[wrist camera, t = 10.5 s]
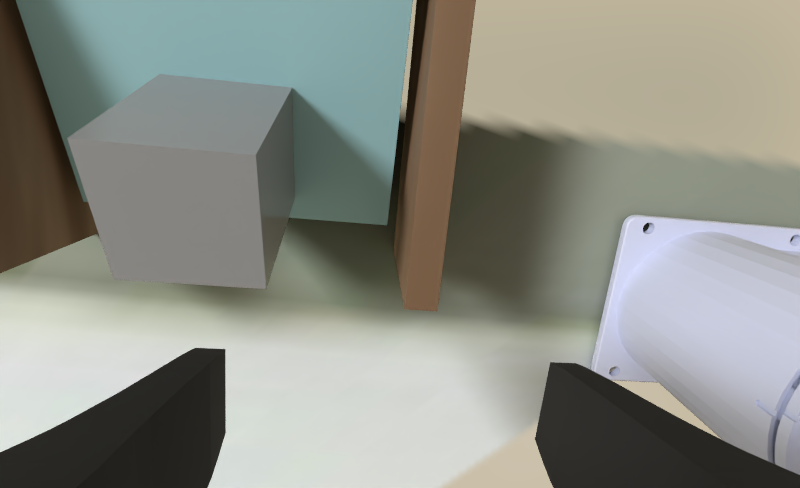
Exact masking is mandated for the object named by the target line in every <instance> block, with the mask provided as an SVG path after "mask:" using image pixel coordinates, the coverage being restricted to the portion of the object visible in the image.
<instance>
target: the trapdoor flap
mask: <svg viewBox="0 0 800 488" xmlns="http://www.w3.org/2000/svg"><path fill="white" fill-rule="evenodd" d="M412 2H413V0H16V3H17V6H18V9H19V12H20V15H21V18H22V21H23V24H24V27H25V30H26V32H27V35H28V38H29V41H30V44H31V47H32V50H33V53H34V56H35V59H36V62H37V65H38V68H39V71H40V74H41V77H42V80H43V83H44V86H45V89H46V92H47V95H48V98H49V101H50V104H51V107H52V110H53V113H54V116H55V119H56V122H57V125H58V127H59V130H60V133H61V136H62V139H63V142H64V145H65V148H66V151H67V154H68V157H69V160H70V163H71V166H72V169H73V172H74V175H75V178H76V181H77V184H78V187H79V190H80V193H81V196H82V199H83V202H88V200H87V197H86V194H85V191H84V188H83V185H82V182H81V179H80V176H79V173H78V170H77V167H76V164H75V161H74V157H73V154H72V151H71V148H70V145H69V142H68V139H67V138H68V137H69V136H71V135H72V134H74V133H75V132H77V131H78V130H80V129H81V128H82V127H84V126H85V125H87V124H88V123H90V122H91V121H92V120H94V119H95V118H97V117H98V116H100V115H101V114H103V113H104V112H105V111H107V110H108V109H110V108H111V107H113V106H114V105H116V104H117V103H118V102H120V101H121V100H123V99H124V98H126V97H127V96H128V95H130V94H131V93H133V92H134V91H136V90H137V89H139V88H140V87H141V86H143V85H144V84H146V83H147V82H149V81H150V80H152V79H153V78H154V77H156V76H157V75H159V74H166V75H176V76H185V77H195V78H205V79H215V80H224V81H234V82H244V83H253V84H263V85H273V86H283V87H292V95H293V135H294V176H295V200H294V203H293V206H292V209H291V213H290V216H289V218H300V219H313V220H325V221H338V222H351V223H364V224H377V225H387V222H388V213H389V205H390V196H391V187H392V178H393V169H394V161H395V152H396V143H397V134H398V125H399V117H400V108H401V99H402V90H403V81H404V72H405V63H406V55H407V46H408V36H409V28H410V20H411V10H412Z"/></svg>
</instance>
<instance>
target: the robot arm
mask: <svg viewBox="0 0 800 488" xmlns="http://www.w3.org/2000/svg"><path fill="white" fill-rule="evenodd" d="M646 223H649V228H648V230H647V231H645V232H643V227H644V225H645V224H646ZM792 237H793V240H792V241H791V242H790V239H791V238H792ZM615 366H616V368H615V369H614V370H613V371H612V372H609V371H610V369H611V368H612V367H615ZM611 380H620V381H639V382H659V383H660V384H661V385H662V386H663V387H664V388H665V389H666V390H668V391H669V392H670V393H671V394H672V395H673V396H674V397H675V398H676V399H678V400H679V401H680V402H681V403H682V404H683V405H684V406H686V407H687V408H688V409H689V410H690V411H691V412H692V413H693V414H694V415H695V416H696V417H698V418H699V419H700V420H701V421H702V422H703V423H704V424H705V425H707V426H708V427H709V428H710V429H711V430H712V431H713V432H714V433H716V434H717V435H718V436H719V437H720V438H721V439H722V440H721V439H719V438H717V437H715V436H713V435H711V434H709V433H707V432H705V431H703V430H701V429H699V428H697V427H695V426H693V425H691V424H689V423H688V422H686V421H684V420H682V419H680V418H678V417H676V416H674V415H672V414H671V413H669V412H667V411H665V410H663V409H661V408H659V407H657V406H656V405H654V404H652V403H651V402H649V401H647V400H645V399H643V398H641V397H640V396H638V395H636V394H634V393H633V392H631V391H629V390H627V389H625V388H624V387H622V386H620V385H618V384H616V383H615V382H613V381H611ZM224 436H225V349H207V348H194V349H192V350H190V351H188V352H186V353H185V354H183V355H181V356H179V357H178V358H176V359H174V360H173V361H171V362H169V363H168V364H166V365H164V366H163V367H161V368H159V369H158V370H156V371H154V372H153V373H151V374H149V375H148V376H146V377H144V378H143V379H141V380H139V381H138V382H136V383H134V384H133V385H131V386H129V387H128V388H126V389H124V390H122V391H121V392H119V393H117V394H116V395H114V396H112V397H110V398H108V399H106V400H105V401H103V402H101V403H99V404H97V405H95V406H93V407H92V408H90V409H88V410H86V411H84V412H82V413H81V414H79V415H77V416H75V417H73V418H71V419H70V420H68V421H66V422H64V423H62V424H60V425H58V426H56V427H54V428H52V429H50V430H48V431H46V432H44V433H42V434H40V435H38V436H35V437H33V438H31V439H29V440H27V441H25V442H22V443H20V444H18V445H16V446H14V447H11V448H9V449H7V450H5V451H3V452H0V488H207V487H208V485H209V482H210V480H211V478H212V475H213V471H214V468H215V465H216V462H217V459H218V456H219V453H220V449H221V446H222V443H223V439H224ZM535 440H536V443H537V446H538V449H539V452H540V454H541V458H542V460H543V463H544V466H545V468H546V471H547V474H548V476H549V479H550V481H551V483H552V485H553V487H554V488H800V228H789V227H777V226H765V225H753V224H741V223H729V222H717V221H705V220H693V219H681V218H669V217H657V216H645V215H631V216H629V217H627V218H626V220H625V221H624V223H623V226H622V230H621V235H620V239H619V244H618V248H617V252H616V257H615V261H614V266H613V270H612V275H611V279H610V284H609V288H608V293H607V297H606V302H605V306H604V311H603V315H602V320H601V324H600V329H599V333H598V338H597V342H596V347H595V351H594V356H593V360H592V365H591V370H590V369H588V368H586V367H583V366H581V365H578V364H576V363H552V362H550V367H549V372H548V377H547V382H546V387H545V392H544V397H543V402H542V407H541V412H540V417H539V422H538V427H537V432H536V437H535Z"/></svg>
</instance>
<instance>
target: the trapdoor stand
mask: <svg viewBox="0 0 800 488" xmlns="http://www.w3.org/2000/svg"><path fill="white" fill-rule="evenodd" d="M475 2H476V0H417V3H416V15H415V25H414V36H413V47H412V57H411V68H410V78H409V90H408V100H407V110H406V121H405V132H404V142H403V153H402V164H401V174H400V185H399V196H398V206H397V217H396V228H395V238H394V249H393V251H394V256H395V262H396V267H397V272H398V277H399V282H400V288H401V293H402V298H403V303H404V309H409V310H426V311H437V310H438V302H439V294H440V286H441V278H442V269H443V261H444V253H445V245H446V237H447V229H448V221H449V213H450V205H451V197H452V188H453V180H454V172H455V164H456V156H457V148H458V140H459V132H460V124H461V116H462V107H463V99H464V91H465V83H466V75H467V66H468V58H469V51H470V43H471V34H472V26H473V18H474V10H475ZM97 233H98V230H97V227H96V224H95V221H94V218H93V215H92V212H91V209H90V206H89V203H88V202H83V199H82V196H81V193H80V190H79V187H78V184H77V181H76V178H75V175H74V172H73V169H72V166H71V163H70V160H69V157H68V154H67V151H66V148H65V145H64V142H63V139H62V136H61V133H60V130H59V127H58V125H57V122H56V119H55V116H54V113H53V110H52V107H51V104H50V101H49V98H48V95H47V92H46V89H45V86H44V83H43V80H42V77H41V74H40V71H39V68H38V65H37V62H36V59H35V56H34V53H33V50H32V47H31V44H30V41H29V38H28V35H27V32H26V30H25V27H24V24H23V21H22V18H21V15H20V12H19V9H18V6H17V3H16V0H0V273H2V272H4V271H7V270H9V269H12V268H14V267H16V266H19V265H21V264H24V263H26V262H29V261H31V260H34V259H36V258H38V257H41V256H43V255H46V254H48V253H51V252H53V251H55V250H58V249H60V248H63V247H65V246H68V245H70V244H73V243H75V242H77V241H80V240H82V239H85V238H87V237H90V236H92V235H94V234H97Z"/></svg>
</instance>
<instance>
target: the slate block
mask: <svg viewBox="0 0 800 488" xmlns="http://www.w3.org/2000/svg"><path fill="white" fill-rule="evenodd" d="M67 139H68V142H69V145H70V148H71V151H72V154H73V157H74V161H75V164H76V167H77V170H78V173H79V176H80V179H81V182H82V185H83V188H84V191H85V194H86V197H87V200H88V203H89V206H90V209H91V212H92V215H93V218H94V221H95V224H96V227H97V230H98V233H99V236H100V239H101V242H102V245H103V249H104V252H105V255H106V258H107V261H108V264H109V267H110V270H111V273H112V276H113V279H116V280H132V281H147V282H163V283H178V284H194V285H210V286H225V287H241V288H257V289H266V288H267V285H268V282H269V279H270V276H271V272H272V269H273V266H274V263H275V260H276V257H277V254H278V250H279V247H280V244H281V241H282V238H283V235H284V231H285V228H286V225H287V222H288V219H289V216H290V213H291V209H292V206H293V203H294V200H295V176H294V135H293V95H292V87H283V86H273V85H263V84H253V83H244V82H234V81H224V80H215V79H205V78H195V77H185V76H176V75H166V74H159V75H157V76H156V77H154V78H153V79H152V80H150V81H149V82H147V83H146V84H144V85H143V86H141V87H140V88H139V89H137V90H136V91H134V92H133V93H131V94H130V95H128V96H127V97H126V98H124V99H123V100H121V101H120V102H118V103H117V104H116V105H114V106H113V107H111V108H110V109H108V110H107V111H105V112H104V113H103V114H101V115H100V116H98V117H97V118H95V119H94V120H92V121H91V122H90V123H88V124H87V125H85V126H84V127H82V128H81V129H80V130H78V131H77V132H75V133H74V134H72V135H71V136H69V137H68V138H67Z"/></svg>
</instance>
